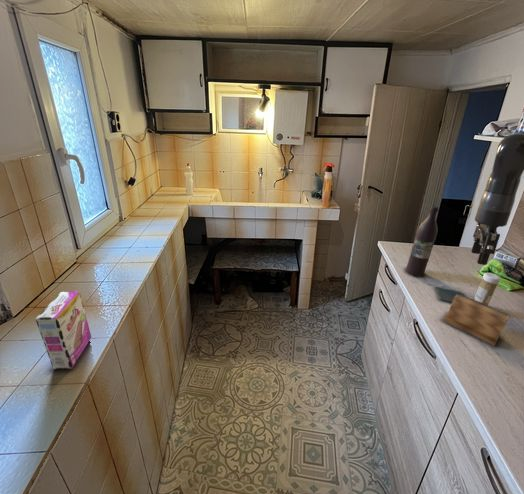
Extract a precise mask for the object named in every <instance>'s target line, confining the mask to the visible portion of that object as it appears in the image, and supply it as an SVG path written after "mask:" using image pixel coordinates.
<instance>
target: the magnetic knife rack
mask: <svg viewBox="0 0 524 494" xmlns="http://www.w3.org/2000/svg"><path fill="white" fill-rule="evenodd" d="M461 294H462V293H461ZM461 294H459V295H456V296H455V297H454V299H453V302H452V303H451V304H450V306H449V309H448V312H447V315H446V316H445V317H444V319H443V322H444V323H446V324H448V325H450V326H453V327H455V328H457V329H459V330H461V331H463V332H465V333H467V334H469V335H471V336H474V337H475V338H477V339H479V340H482V341H483V342H486V343H487V344H490V345H492V346H496V344H497V342H498V341H499V338H500V336H501V334H502V332H503V331H504V329H505V326H506V324H507V323H508V321H509V319H510V316H509V314H508V313H506V312H503V311H501V310H499V309H496V308H494V307H491V306H490V305H488V306H487V305H485V304H482V303H480V302H478V301H475V300H474V298H470V297H468V296H466V295H463V294H462V295H461Z"/></svg>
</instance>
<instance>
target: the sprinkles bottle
mask: <svg viewBox="0 0 524 494" xmlns="http://www.w3.org/2000/svg"><path fill="white" fill-rule="evenodd" d="M500 281H501V277H500V276H499V274H495V273H493V272H484V274H483V276H482V279H481V281H480V284H479V285H478V288H477V291H476V293H475V295H474V298H473V300H475V301H478V302H480V303H482V304H485V305H487V306H489V304H490V302H491V299H492V297H493V295H494V293H495V290H496V288H497V286H498V285H499V283H500Z"/></svg>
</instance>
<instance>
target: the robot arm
mask: <svg viewBox="0 0 524 494" xmlns="http://www.w3.org/2000/svg"><path fill="white" fill-rule="evenodd" d="M491 169H492V170H491V172H490V173H489V176H488V178H487V180H486V184H485V187H484V190H483V193H482V195H481V197H480V200H479V203H478V207H477V209H476V213H475V217H474V221H475V222H476V226H475V229H474V233H473V235H472V237H473V244H472V247H471V250H470V251H471V253H472V254H475V255H478V257H477V261H476V263H477V264H478V265H483V266H486V265H487V264H488V261H489V259H490V255H495V253H496V249H497V247H498V243H499V241H500V237H501V233H498V231H497V230H498V228H500V227H501V228H502V227H505V226H507V225H508V222H509V220H510V219H509V218H510V216H511V214H512V212H513V211H512V210H513V209H514V205H515V202H516V197H517V193H518V190H519V187H520V184H521V181H522V177H523V173H524V131H520V132H516V133H511V134H509V135H506V136H505V137H503V138H502V139H501V140H500V142H499V143H498V145H497V149H496V153H495V157H494V160H493V166H492V168H491Z"/></svg>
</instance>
